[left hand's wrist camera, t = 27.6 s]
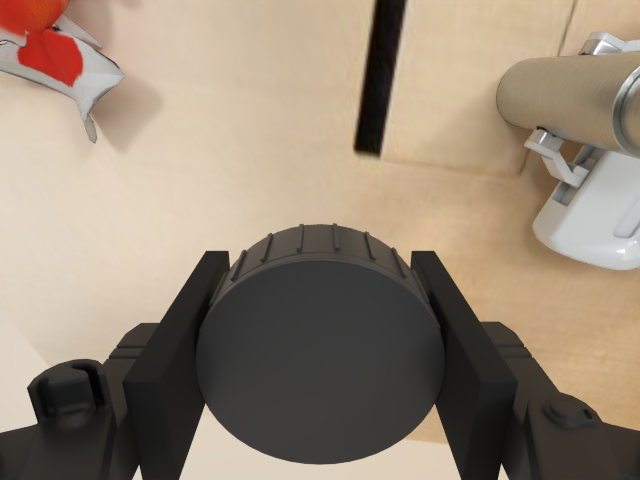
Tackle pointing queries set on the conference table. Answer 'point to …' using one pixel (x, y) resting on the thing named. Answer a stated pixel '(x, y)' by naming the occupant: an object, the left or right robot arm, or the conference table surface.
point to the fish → (55, 53)
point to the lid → (320, 347)
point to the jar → (577, 99)
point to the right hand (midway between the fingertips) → (559, 92)
